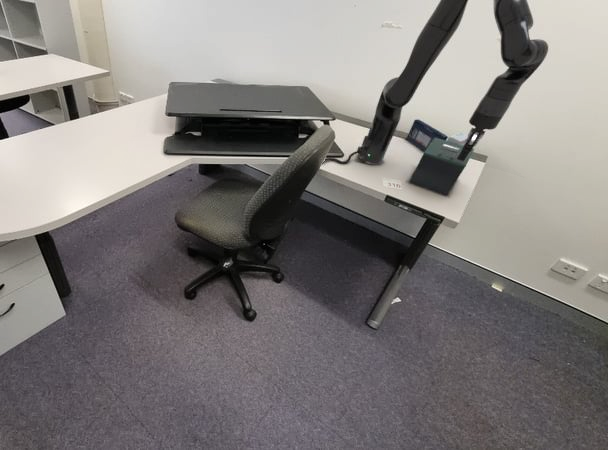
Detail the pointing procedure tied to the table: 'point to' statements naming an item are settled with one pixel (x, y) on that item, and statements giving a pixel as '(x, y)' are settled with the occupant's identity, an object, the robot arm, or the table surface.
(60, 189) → the table surface
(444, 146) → the bin lid
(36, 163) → the table surface
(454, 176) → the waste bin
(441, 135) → the vhs cassette tape
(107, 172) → the table surface
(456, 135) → the ink box
